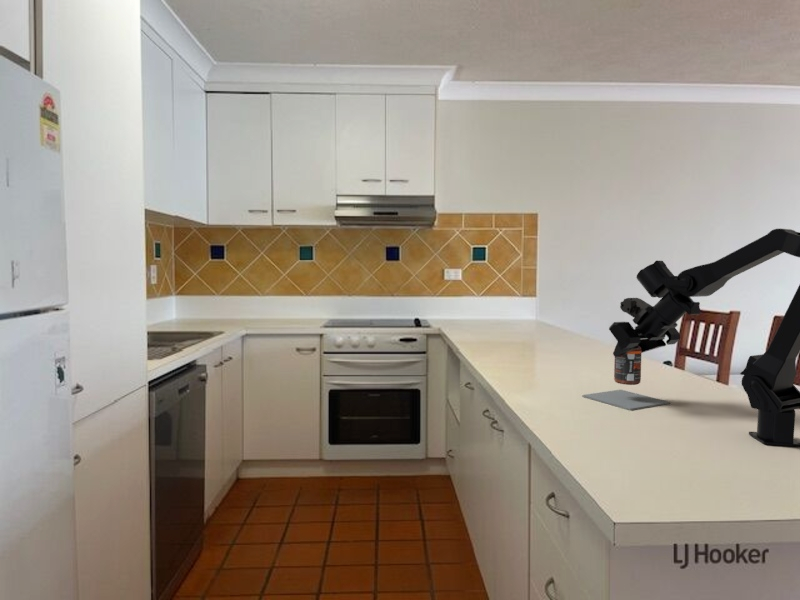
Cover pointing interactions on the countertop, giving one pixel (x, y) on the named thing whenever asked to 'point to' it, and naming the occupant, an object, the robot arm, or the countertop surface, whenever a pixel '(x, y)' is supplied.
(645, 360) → the countertop surface
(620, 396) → the mat
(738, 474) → the countertop surface
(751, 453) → the countertop surface
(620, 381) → the supplement bottle
